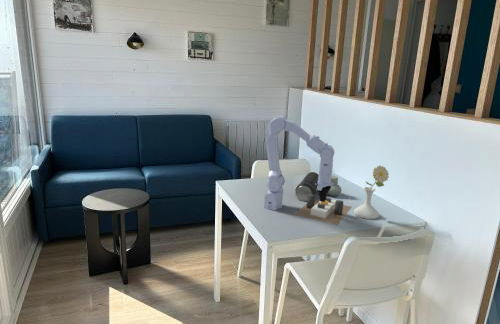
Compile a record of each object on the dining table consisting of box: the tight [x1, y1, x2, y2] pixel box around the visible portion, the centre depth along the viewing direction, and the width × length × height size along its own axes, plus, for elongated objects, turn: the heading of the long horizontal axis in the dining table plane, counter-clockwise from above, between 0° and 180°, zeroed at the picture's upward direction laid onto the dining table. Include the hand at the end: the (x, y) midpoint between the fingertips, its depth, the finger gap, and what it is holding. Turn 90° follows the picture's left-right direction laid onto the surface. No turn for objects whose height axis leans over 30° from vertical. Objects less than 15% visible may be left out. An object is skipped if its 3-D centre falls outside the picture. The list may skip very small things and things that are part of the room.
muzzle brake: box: [294, 171, 319, 202], centre depth 195 cm, size 10×28×10 cm
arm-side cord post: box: [306, 194, 316, 209], centre depth 173 cm, size 4×4×6 cm
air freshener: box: [327, 175, 342, 197], centre depth 196 cm, size 11×8×10 cm
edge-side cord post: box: [334, 199, 344, 215], centre depth 167 cm, size 4×4×6 cm
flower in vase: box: [353, 165, 390, 220], centre depth 165 cm, size 13×11×25 cm
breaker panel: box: [293, 197, 352, 226], centre depth 171 cm, size 26×20×6 cm
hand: (322, 201), depth 166 cm, fingers closed
